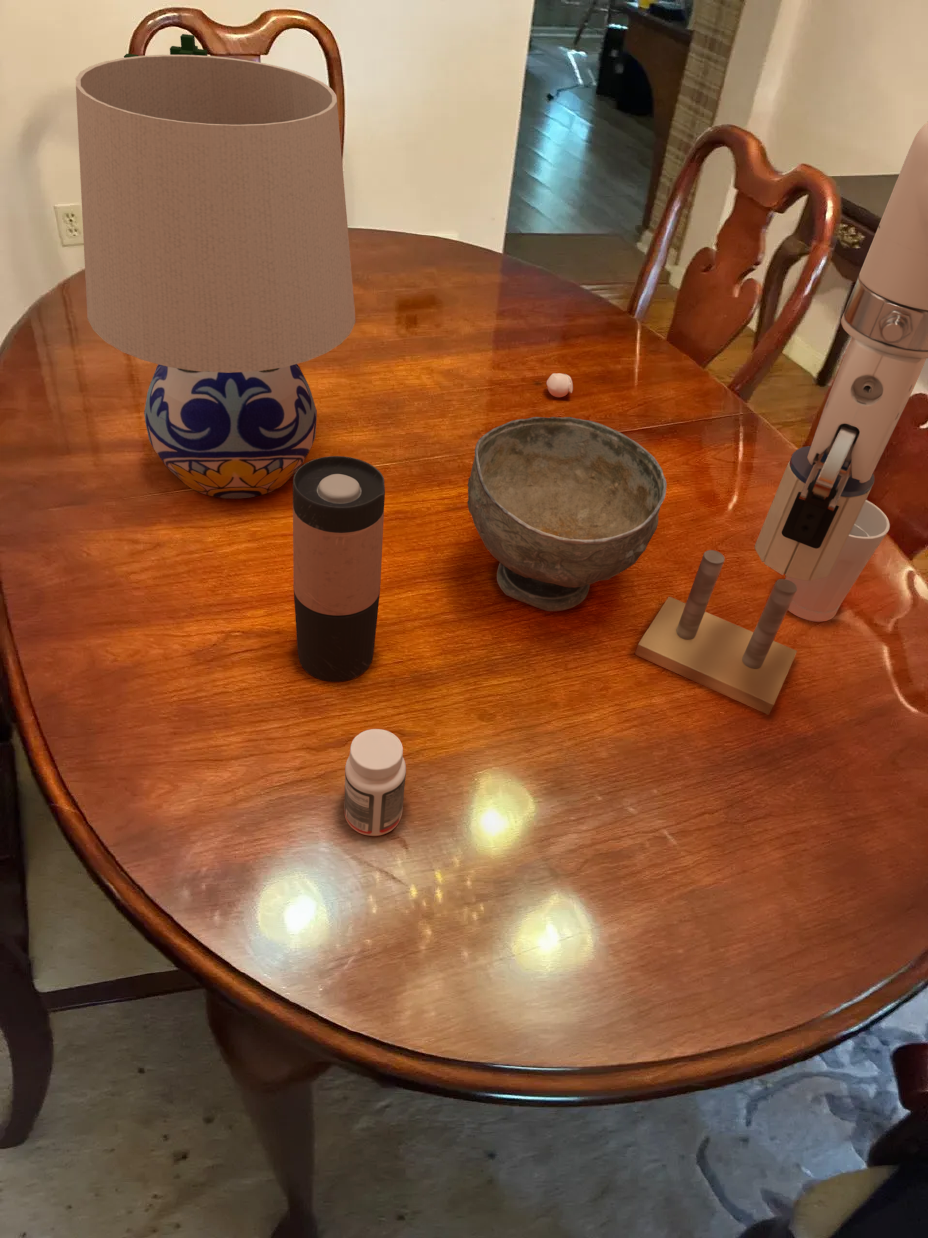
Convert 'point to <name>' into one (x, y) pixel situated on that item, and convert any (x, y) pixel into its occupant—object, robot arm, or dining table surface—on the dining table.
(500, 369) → the dining table surface
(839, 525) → the blue topped tan cylinder
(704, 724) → the dining table surface
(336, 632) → the travel mug
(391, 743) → the pill bottle
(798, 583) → the cup
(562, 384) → the garlic
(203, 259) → the table lamp
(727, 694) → the double peg stand
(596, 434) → the bowl
